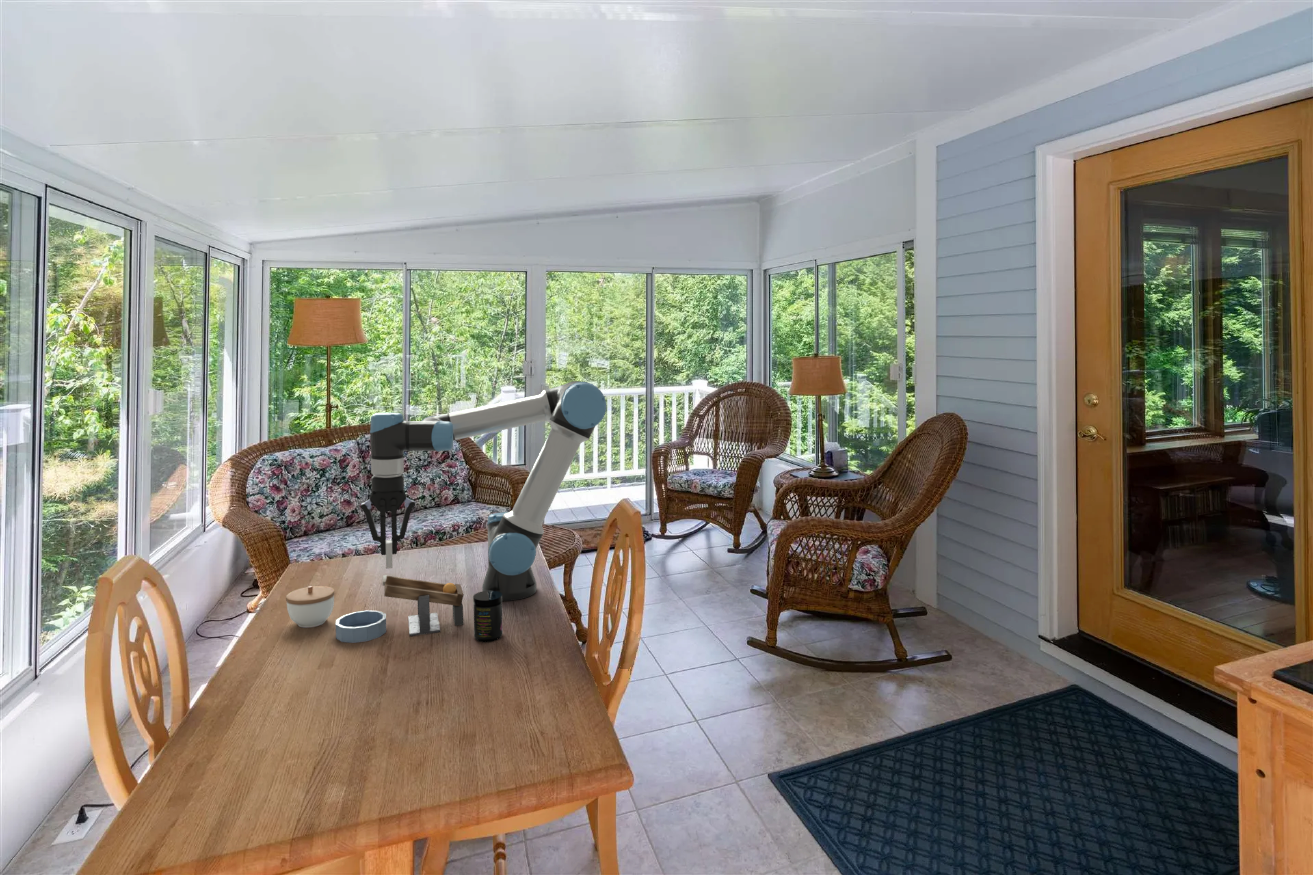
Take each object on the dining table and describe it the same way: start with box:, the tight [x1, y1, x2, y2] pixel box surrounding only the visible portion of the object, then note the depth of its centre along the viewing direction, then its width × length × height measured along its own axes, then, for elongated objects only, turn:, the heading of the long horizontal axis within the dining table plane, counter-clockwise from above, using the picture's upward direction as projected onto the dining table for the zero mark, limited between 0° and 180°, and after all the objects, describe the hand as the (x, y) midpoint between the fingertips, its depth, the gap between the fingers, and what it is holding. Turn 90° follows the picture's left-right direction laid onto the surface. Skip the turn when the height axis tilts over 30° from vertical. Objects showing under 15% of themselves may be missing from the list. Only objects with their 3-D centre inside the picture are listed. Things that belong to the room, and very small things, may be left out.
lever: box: [382, 574, 465, 606], centre depth 167 cm, size 18×14×3 cm
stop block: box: [452, 602, 464, 626], centre depth 168 cm, size 2×6×5 cm, turn 22°
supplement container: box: [472, 590, 504, 643], centre depth 158 cm, size 7×7×10 cm
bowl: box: [334, 609, 387, 644], centre depth 160 cm, size 11×11×4 cm
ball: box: [443, 582, 456, 594], centre depth 167 cm, size 3×3×3 cm
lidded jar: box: [285, 585, 335, 629], centre depth 166 cm, size 11×11×9 cm
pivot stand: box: [407, 595, 441, 637], centre depth 165 cm, size 7×12×9 cm, turn 22°
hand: (389, 566), depth 168 cm, fingers closed
